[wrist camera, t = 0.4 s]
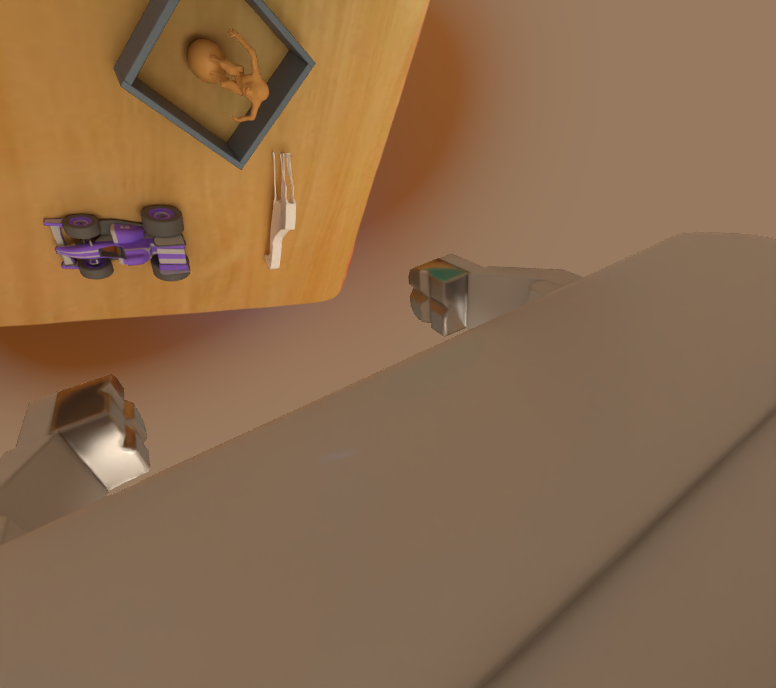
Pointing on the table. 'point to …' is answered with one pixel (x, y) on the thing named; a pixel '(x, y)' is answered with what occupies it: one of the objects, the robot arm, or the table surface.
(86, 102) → the table surface
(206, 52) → the figurine
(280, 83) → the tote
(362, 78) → the table surface
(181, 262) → the toy race car
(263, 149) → the table surface
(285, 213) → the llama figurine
